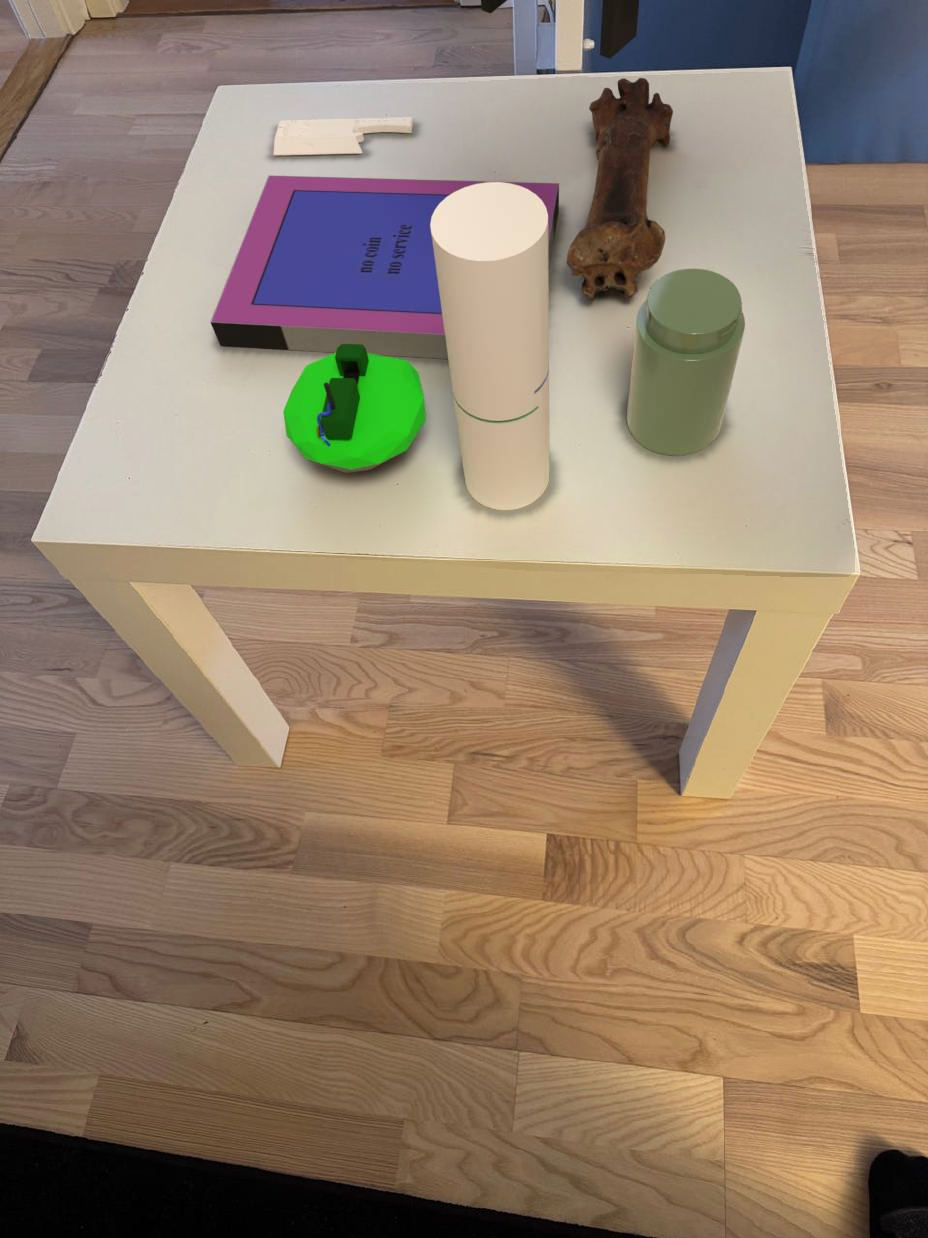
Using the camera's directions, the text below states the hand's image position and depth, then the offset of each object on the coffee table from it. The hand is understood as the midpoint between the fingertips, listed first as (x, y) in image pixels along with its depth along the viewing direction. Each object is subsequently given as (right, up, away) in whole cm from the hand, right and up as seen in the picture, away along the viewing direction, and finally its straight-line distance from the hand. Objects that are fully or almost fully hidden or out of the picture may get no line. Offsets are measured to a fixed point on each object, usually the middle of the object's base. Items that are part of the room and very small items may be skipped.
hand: (557, 22), depth 57 cm
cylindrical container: (-2, -25, +21) cm, 32 cm away
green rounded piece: (-14, -21, +24) cm, 35 cm away
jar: (+12, -20, +22) cm, 32 cm away
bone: (+10, +4, +36) cm, 37 cm away
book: (-13, -3, +34) cm, 36 cm away
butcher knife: (-19, +16, +45) cm, 51 cm away
